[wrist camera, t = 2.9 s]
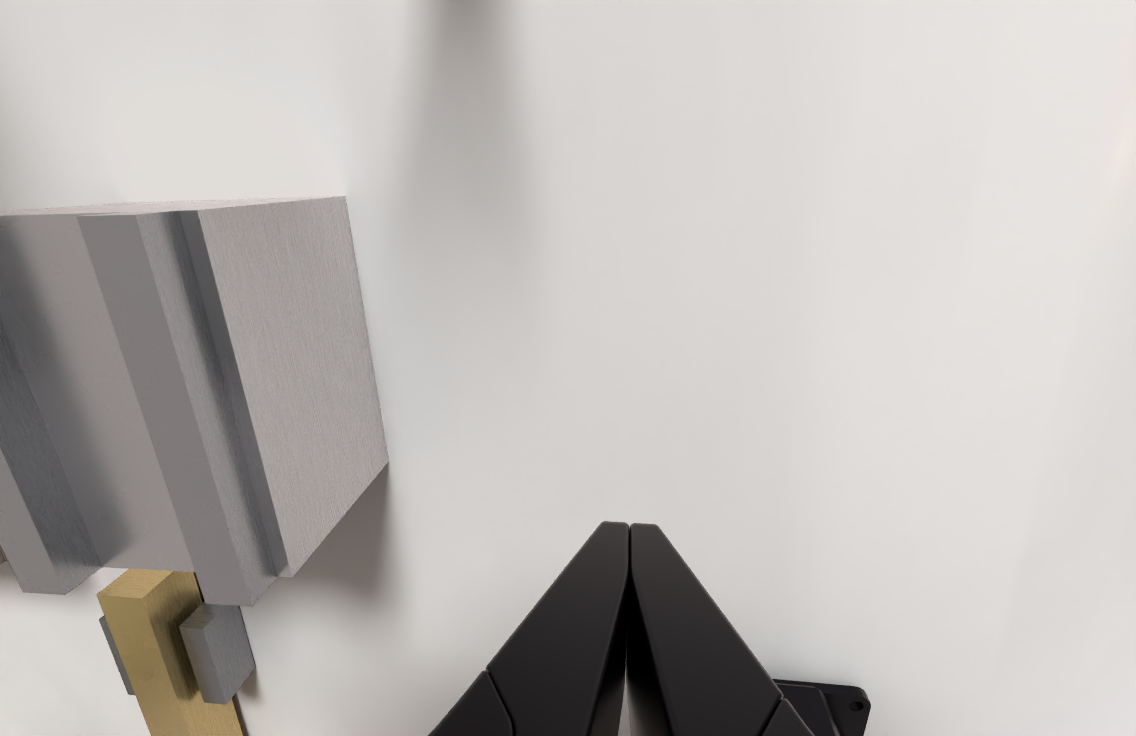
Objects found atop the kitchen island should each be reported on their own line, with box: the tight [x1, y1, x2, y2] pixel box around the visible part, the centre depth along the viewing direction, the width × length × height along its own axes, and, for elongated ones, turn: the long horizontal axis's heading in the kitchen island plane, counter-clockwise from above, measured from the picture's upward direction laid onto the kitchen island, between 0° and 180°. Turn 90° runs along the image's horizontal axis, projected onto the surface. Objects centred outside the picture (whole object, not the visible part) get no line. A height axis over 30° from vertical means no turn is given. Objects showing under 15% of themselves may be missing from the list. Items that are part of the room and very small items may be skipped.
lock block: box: [0, 196, 389, 606], centre depth 15 cm, size 10×7×7 cm
